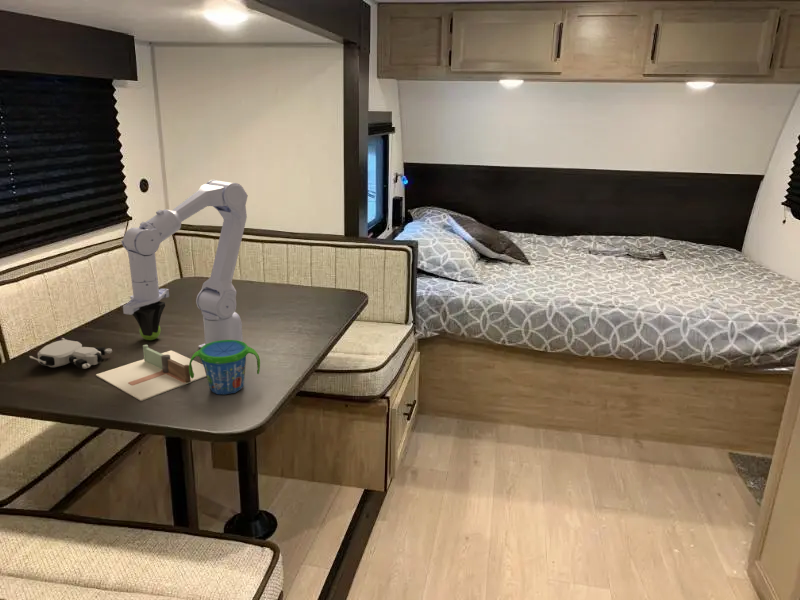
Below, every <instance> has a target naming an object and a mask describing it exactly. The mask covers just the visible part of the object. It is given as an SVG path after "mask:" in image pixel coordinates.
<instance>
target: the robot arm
mask: <svg viewBox="0 0 800 600" xmlns="http://www.w3.org/2000/svg"><path fill="white" fill-rule="evenodd" d="M247 200H248V193H247V192H246V190H245V189H244V187H243V186H242V185H241V184H240V183H237V182H230V181H229V182H228V181H223V180H218V179H210V180H208V181H207V182H206V183H204V184H201V185H200V187H199V189H198V190H197V191H195V192H193V193H192V194H191V195H190V196H189V197H187V198H186V199H185V200H184V201H182V202H181V203H180V204H178V205H176V207H174V208H173V209H172V210H171V209H167V208H166V209H158V210H157V211H156V212H155V213H156V214H155V215H153V216H152V217H151V218H149V219H148V220H147V221H142V222H140V223H139V227H130V228H129V229H128V230H126V231H125V234H124V235H123V238H122V240H121V244H122V246H123V248H124V249H125V250H126V252H127V255H128V261H129V262H128V263H129V271H130V272H129V273H130V278H131V288H132V294H131V295H130V296H129V299H130V300H129V301H128V302H127V303H126V304H124V305H122V311H123V314H124V315H131V316H133V317H134V319H135V321H137V324H138V326H139V329H140V328H141V331H142V333H143V335H146V336H151V335H152V333H153V332H154V333H157V332H158V328H159V326H160V321H161V318H162V317H161V316H162V314H163V311H164V309H165V307H166V302H164V301H161V300H162V299H164V298H169V297H170V292H169V290H170V289H169V288H159V287H160V286H159V281H158V280H159V279H158V269H157V258H156V253H157V252H158V250H159V248H160V245H161V244H162V242H164V241H165V240H167V239H168V238H169V237H171V236H172V235H174V234H175V233H177V232H178V231H180V230H181V228H182V222H184V221H186V220H187V219H189V218H190V217H192V216H194V215H195V214H197V213H199V212H201V210H203V209H205V208H207V207H213V208H214V209H216V210H217V211H218V214H219V215H220V216H221V218H222V219H223V222H222V226H221V230H220V234H219V239H218V244H217V248H216V252H215V255H214V256H215V257H214V260H213V265H212V270H211V274H210V277H209V278H208V279H206V281H204V282H203V283H202V287H201V290H200V291H199V292H198V294H197V295H196V300H195V304H196V306H197V309H199V311H201V315H202V321H203V333H204V343H202V344H199V345H198V348H200V349H201V347H203V346H204V345H206V344H208V343H211V342H215V341H220V340H237V341H241V342H244V340H243V339H244V338H243V323H242V319H241V317H240V315H239V313H237V312H236V309H237V300H236V299H237V297H236V296H237V290H236V288H235V286H234V285H233V283H232V282H233V279H234V273H235V270H236V266H237V265H236V264H237V261H238V256H239V252H240V248H241V244H242V239H243V235H244V233H245V232H244V231H245V227H246V222H247V218H248V217H247V207H246V205H247Z"/></svg>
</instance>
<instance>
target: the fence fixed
mask: <svg viewBox="0 0 800 600" xmlns="http://www.w3.org/2000/svg"><path fill="white" fill-rule="evenodd" d="M161 359H162V368H163V372H164V373H168V372H169V373H170V374H172V375H174V376H176V377H178V378H180V379H182V380H184V381H185V382H186V383H188V382H191V380H190V373H189V365H182V364H180V363H178V362H176V361H174V360H172V359H170V355H162V356H161ZM191 383H192V382H191ZM188 384H189V383H188Z"/></svg>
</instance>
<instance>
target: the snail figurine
mask: <svg viewBox="0 0 800 600" xmlns="http://www.w3.org/2000/svg"><path fill="white" fill-rule="evenodd" d="M138 331H139V335H140V337H141V338H142V339H144V340H146V341H154V340H156V339H157V338H159V336H160V334H161V331H162V330H161V326H160V325H159V328H158V332H157V333H154V332H153V333H152V335H151V336H146V335H143V333H142V331H141V328H140V327H139V329H138Z"/></svg>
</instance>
